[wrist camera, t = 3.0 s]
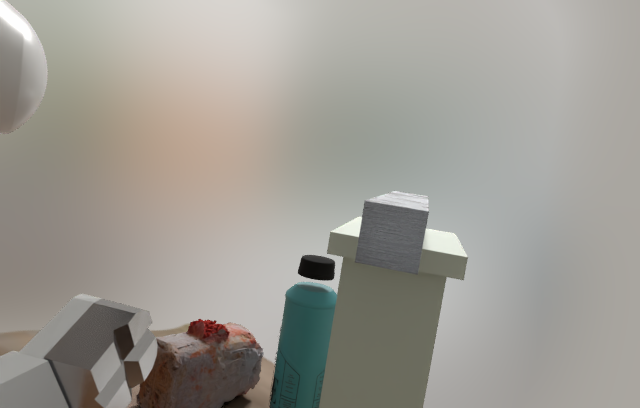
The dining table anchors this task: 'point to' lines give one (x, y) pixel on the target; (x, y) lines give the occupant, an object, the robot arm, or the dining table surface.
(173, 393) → the food item
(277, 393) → the beverage bottle
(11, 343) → the dining table surface
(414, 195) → the graphite bar
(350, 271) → the sage stand
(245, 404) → the dining table surface
